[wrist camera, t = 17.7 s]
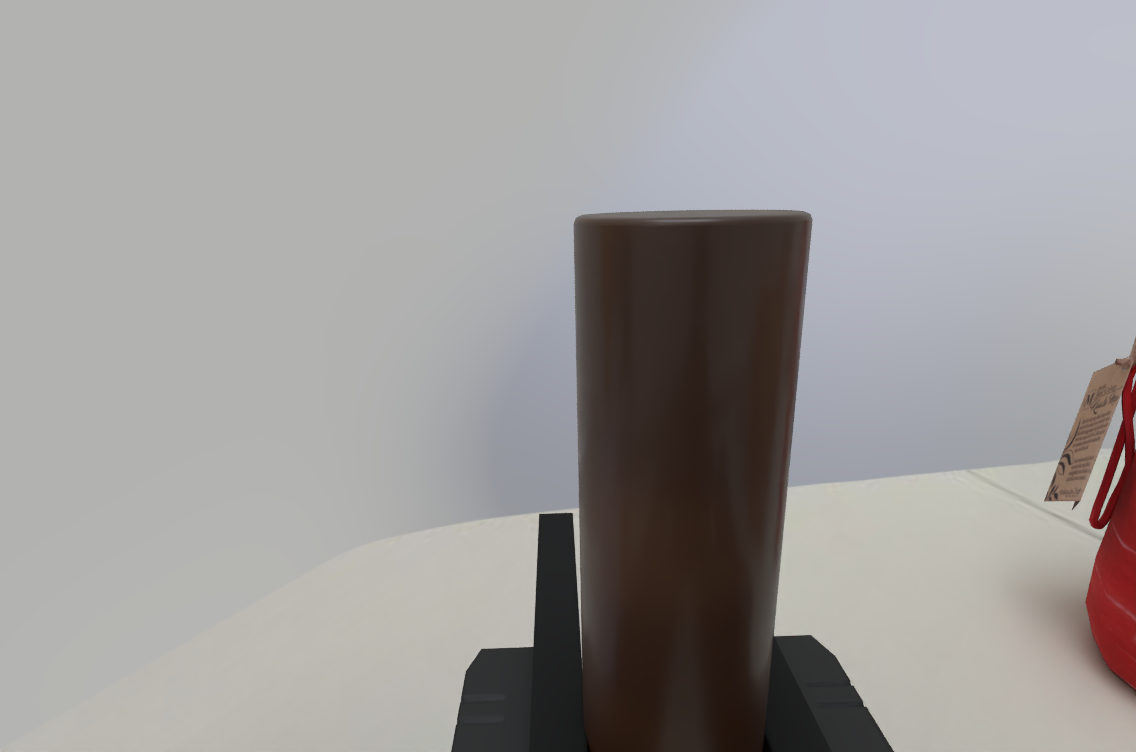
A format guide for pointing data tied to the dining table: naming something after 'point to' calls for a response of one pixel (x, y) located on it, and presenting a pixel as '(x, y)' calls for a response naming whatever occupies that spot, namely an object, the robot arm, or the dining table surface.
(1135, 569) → the water bottle
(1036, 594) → the dining table surface
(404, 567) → the dining table surface
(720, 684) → the brown wooden dowel
